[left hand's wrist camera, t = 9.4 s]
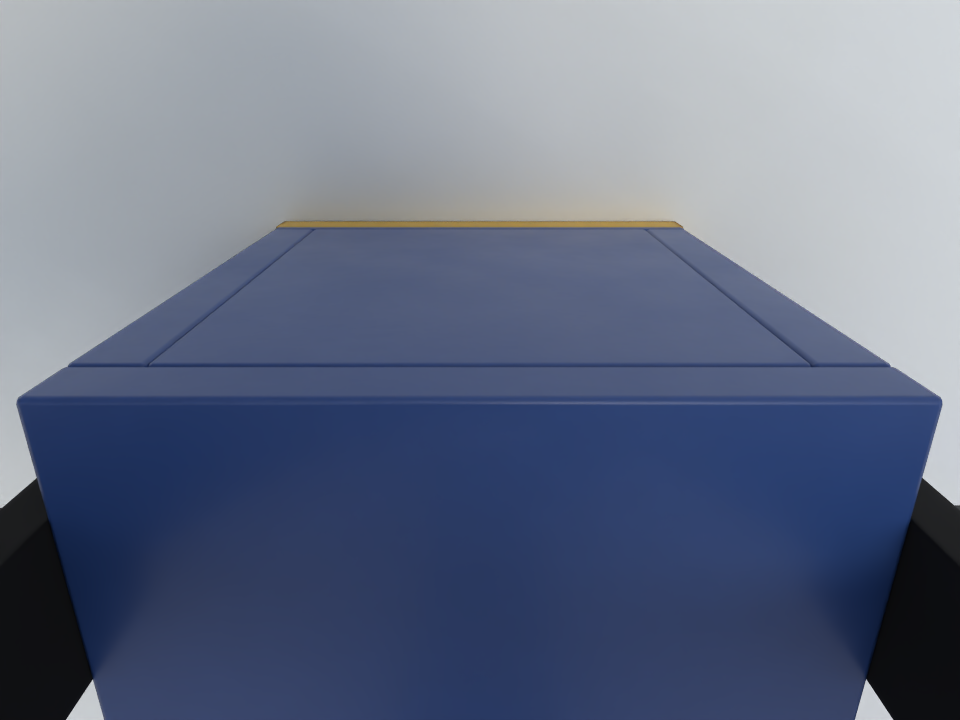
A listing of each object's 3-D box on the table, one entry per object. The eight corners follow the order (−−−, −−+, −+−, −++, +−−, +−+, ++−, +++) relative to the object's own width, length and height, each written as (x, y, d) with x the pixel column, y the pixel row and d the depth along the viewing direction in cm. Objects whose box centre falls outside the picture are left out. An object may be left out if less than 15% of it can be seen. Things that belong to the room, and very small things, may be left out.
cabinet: (623, 710, 26) (730, 1173, 15) (336, 711, 26) (228, 1173, 15) (675, 221, 19) (949, 397, 8) (284, 221, 19) (9, 397, 8)
